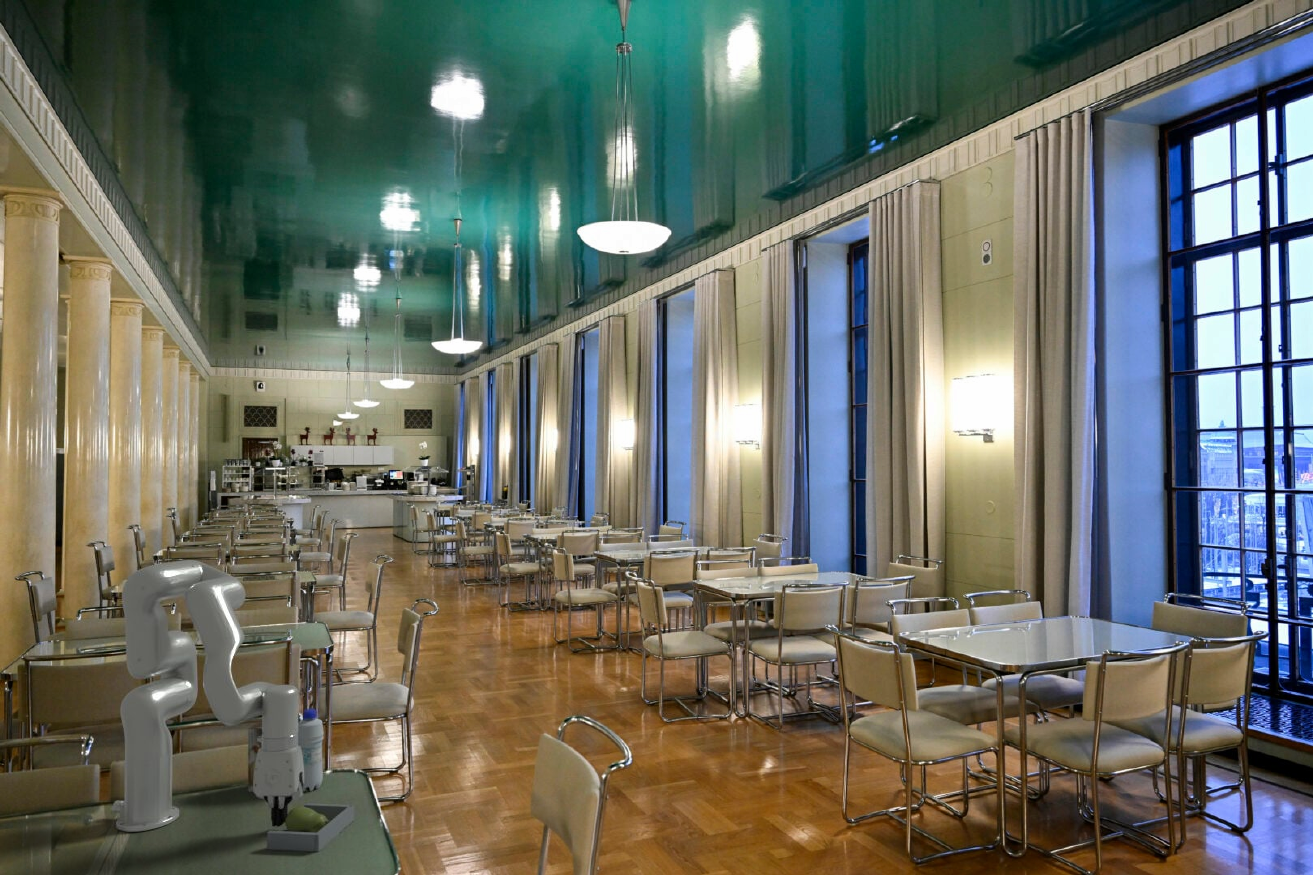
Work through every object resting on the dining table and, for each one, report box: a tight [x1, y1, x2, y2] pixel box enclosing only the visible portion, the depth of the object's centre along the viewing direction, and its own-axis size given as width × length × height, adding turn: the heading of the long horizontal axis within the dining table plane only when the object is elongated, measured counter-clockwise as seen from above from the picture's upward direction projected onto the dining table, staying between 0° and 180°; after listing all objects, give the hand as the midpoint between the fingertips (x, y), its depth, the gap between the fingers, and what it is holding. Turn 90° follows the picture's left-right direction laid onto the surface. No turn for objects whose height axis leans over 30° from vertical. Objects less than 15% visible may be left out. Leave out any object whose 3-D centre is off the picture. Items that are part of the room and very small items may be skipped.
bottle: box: [298, 708, 325, 792], centre depth 217 cm, size 7×7×20 cm
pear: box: [284, 806, 330, 833], centre depth 190 cm, size 6×5×10 cm
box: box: [266, 802, 355, 853], centre depth 189 cm, size 12×16×4 cm
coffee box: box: [247, 721, 262, 793], centre depth 217 cm, size 9×6×16 cm
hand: (279, 823), depth 191 cm, fingers closed
